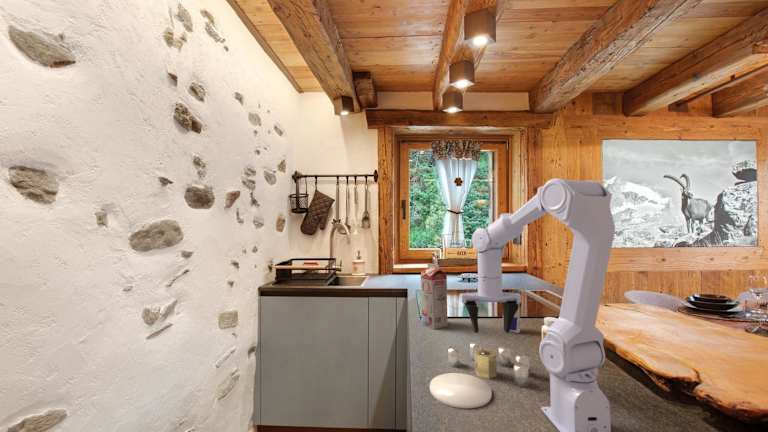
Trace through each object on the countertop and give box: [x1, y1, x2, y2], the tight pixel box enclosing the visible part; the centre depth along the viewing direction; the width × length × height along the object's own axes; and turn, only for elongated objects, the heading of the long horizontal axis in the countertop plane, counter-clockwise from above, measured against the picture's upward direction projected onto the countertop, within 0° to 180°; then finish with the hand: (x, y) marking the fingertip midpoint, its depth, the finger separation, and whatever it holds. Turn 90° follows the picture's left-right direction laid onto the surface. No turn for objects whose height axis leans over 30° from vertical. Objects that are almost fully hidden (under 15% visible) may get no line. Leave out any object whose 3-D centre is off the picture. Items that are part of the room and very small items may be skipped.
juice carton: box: [420, 262, 449, 330], centre depth 113 cm, size 7×7×22 cm
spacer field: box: [447, 341, 531, 388], centre depth 77 cm, size 16×18×4 cm
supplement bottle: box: [541, 316, 558, 341], centre depth 86 cm, size 5×5×10 cm
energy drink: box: [502, 303, 521, 335], centre depth 106 cm, size 5×5×12 cm
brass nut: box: [474, 348, 497, 379], centre depth 76 cm, size 5×4×5 cm
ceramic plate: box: [429, 372, 493, 409], centre depth 68 cm, size 13×13×1 cm
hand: (491, 331), depth 78 cm, fingers open, 7 cm apart
